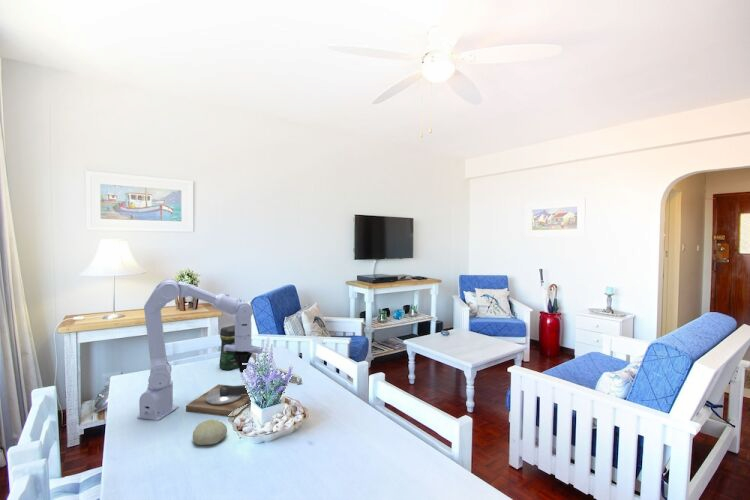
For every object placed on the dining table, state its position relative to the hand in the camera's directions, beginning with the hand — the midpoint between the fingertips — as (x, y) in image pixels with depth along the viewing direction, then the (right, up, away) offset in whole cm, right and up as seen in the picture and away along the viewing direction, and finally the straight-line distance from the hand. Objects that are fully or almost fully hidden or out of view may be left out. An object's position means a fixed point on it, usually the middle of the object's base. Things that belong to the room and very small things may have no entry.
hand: (242, 371), depth 133 cm
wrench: (+6, -9, +20) cm, 23 cm away
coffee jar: (-16, -8, +30) cm, 35 cm away
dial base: (-5, -10, -5) cm, 12 cm away
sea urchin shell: (0, -11, -28) cm, 30 cm away
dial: (-4, -7, -5) cm, 10 cm away
